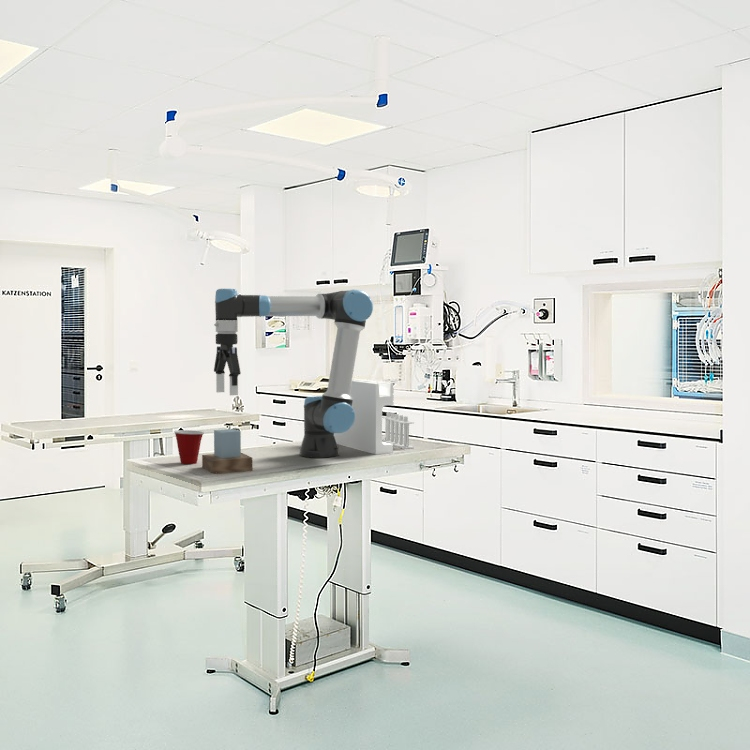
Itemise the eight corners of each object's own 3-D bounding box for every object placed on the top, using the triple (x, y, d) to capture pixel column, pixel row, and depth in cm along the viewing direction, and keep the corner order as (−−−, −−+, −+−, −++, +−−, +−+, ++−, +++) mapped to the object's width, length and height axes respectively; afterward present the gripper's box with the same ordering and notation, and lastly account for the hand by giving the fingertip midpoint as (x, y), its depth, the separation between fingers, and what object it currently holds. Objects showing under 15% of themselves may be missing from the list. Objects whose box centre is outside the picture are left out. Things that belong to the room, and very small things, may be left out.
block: (334, 443, 348) (334, 378, 346) (350, 441, 352) (350, 377, 350) (375, 454, 318) (376, 383, 316) (393, 453, 322) (393, 383, 320)
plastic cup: (210, 463, 295) (209, 430, 295) (183, 466, 288) (182, 433, 288) (195, 459, 303) (195, 427, 303) (169, 462, 296) (168, 430, 296)
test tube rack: (380, 441, 355) (380, 411, 354) (389, 440, 356) (389, 411, 356) (404, 449, 332) (404, 417, 331) (414, 448, 334) (414, 417, 333)
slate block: (232, 453, 289) (232, 428, 288) (240, 456, 283) (240, 431, 283) (214, 455, 285) (214, 430, 285) (222, 458, 279) (221, 432, 279)
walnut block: (240, 465, 294) (240, 452, 293) (252, 472, 281) (252, 457, 281) (202, 468, 287) (202, 454, 287) (213, 475, 275) (213, 460, 275)
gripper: (204, 332, 290) (205, 391, 292) (228, 333, 269) (229, 396, 270) (224, 332, 294) (225, 390, 295) (249, 333, 273) (250, 396, 274)
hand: (226, 393), depth 283 cm, fingers open, 13 cm apart
